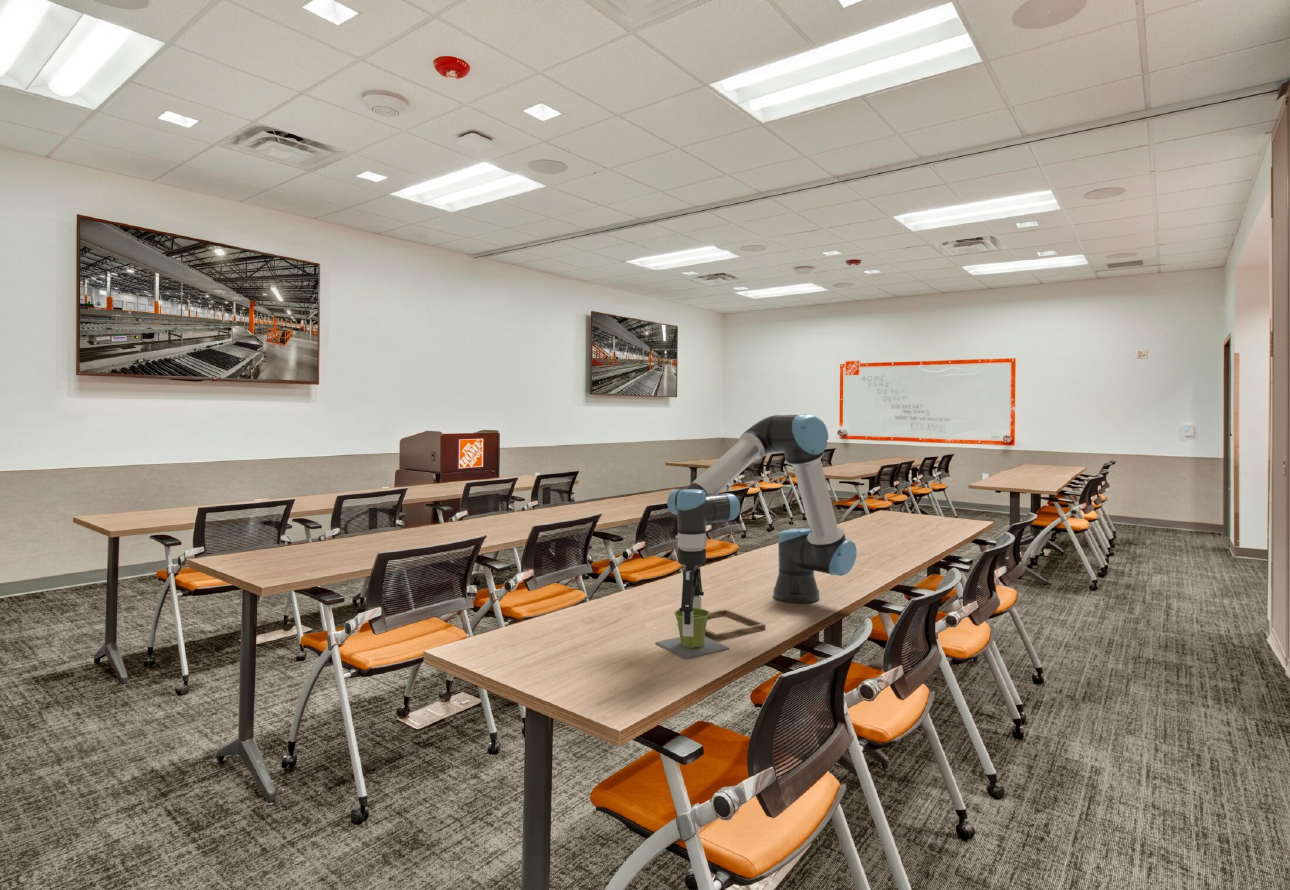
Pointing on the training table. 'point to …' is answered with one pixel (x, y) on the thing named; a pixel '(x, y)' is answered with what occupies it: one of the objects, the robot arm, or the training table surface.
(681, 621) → the plant pot
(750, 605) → the training table surface
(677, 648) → the mat
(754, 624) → the tray frame
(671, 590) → the training table surface
